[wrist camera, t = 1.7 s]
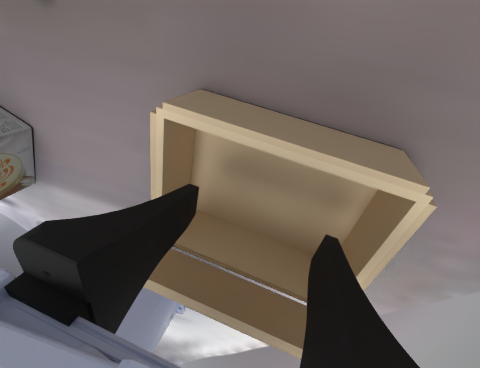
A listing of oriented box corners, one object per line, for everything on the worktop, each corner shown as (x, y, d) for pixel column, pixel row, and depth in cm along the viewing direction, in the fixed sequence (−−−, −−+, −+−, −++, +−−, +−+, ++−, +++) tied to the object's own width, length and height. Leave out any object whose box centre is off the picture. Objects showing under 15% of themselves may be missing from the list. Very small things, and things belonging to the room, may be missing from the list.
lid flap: (328, 315, 17) (325, 321, 17) (159, 243, 20) (157, 249, 20) (357, 374, 11) (353, 384, 11) (110, 262, 14) (107, 270, 14)
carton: (338, 264, 21) (340, 316, 17) (181, 203, 24) (151, 237, 20) (415, 153, 15) (448, 193, 11) (192, 85, 17) (150, 98, 13)
